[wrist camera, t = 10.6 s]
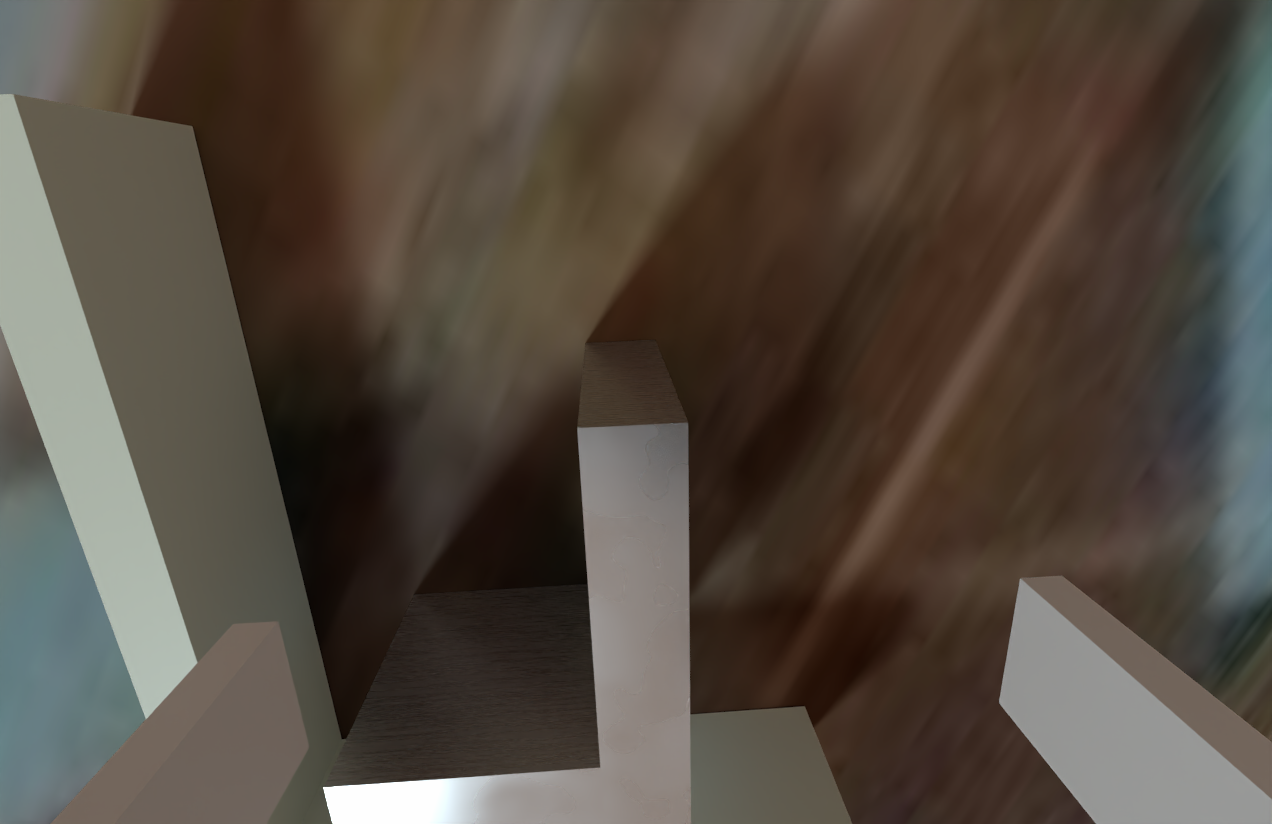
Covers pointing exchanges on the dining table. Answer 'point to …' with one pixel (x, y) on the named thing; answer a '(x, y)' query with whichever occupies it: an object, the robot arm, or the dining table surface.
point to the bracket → (552, 652)
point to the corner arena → (219, 443)
